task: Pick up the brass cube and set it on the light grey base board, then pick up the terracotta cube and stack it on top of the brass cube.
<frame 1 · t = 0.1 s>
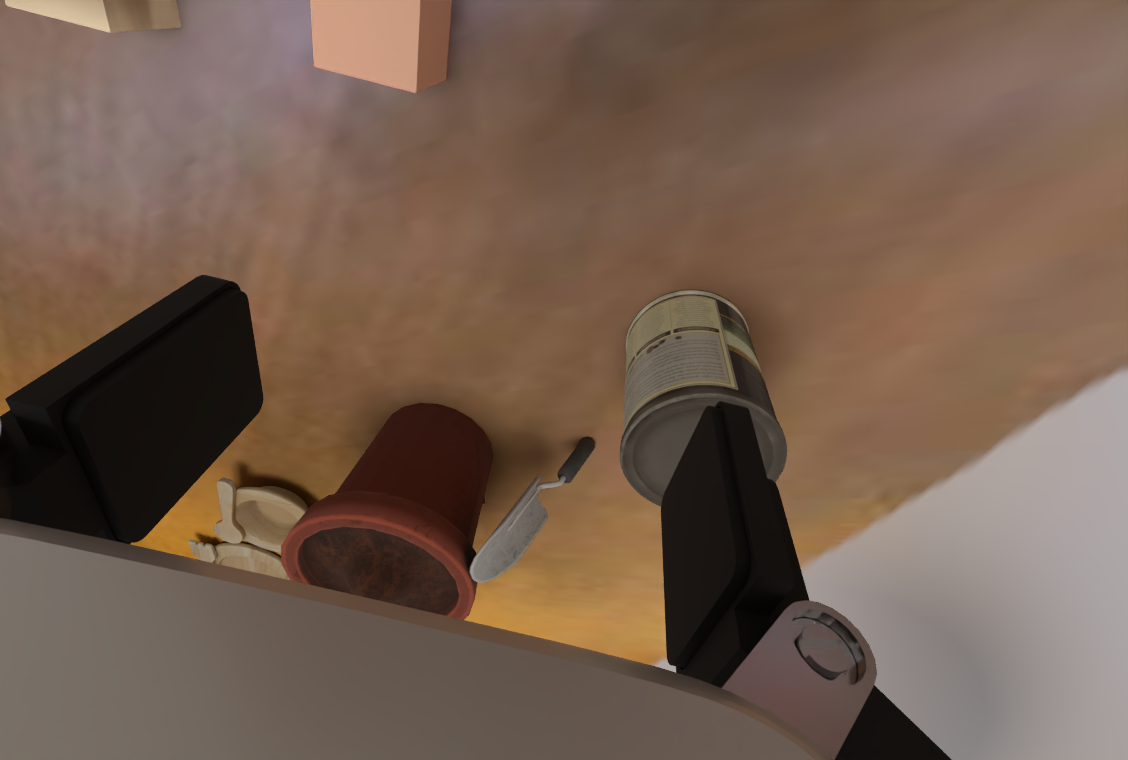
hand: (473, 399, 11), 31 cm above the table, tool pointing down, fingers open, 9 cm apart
coffee can: (686, 342, 46), on the table
terracotta cube: (404, 15, 34), on the table
potted plant: (466, 452, 56), on the table
tableware set: (334, 561, 72), on the table
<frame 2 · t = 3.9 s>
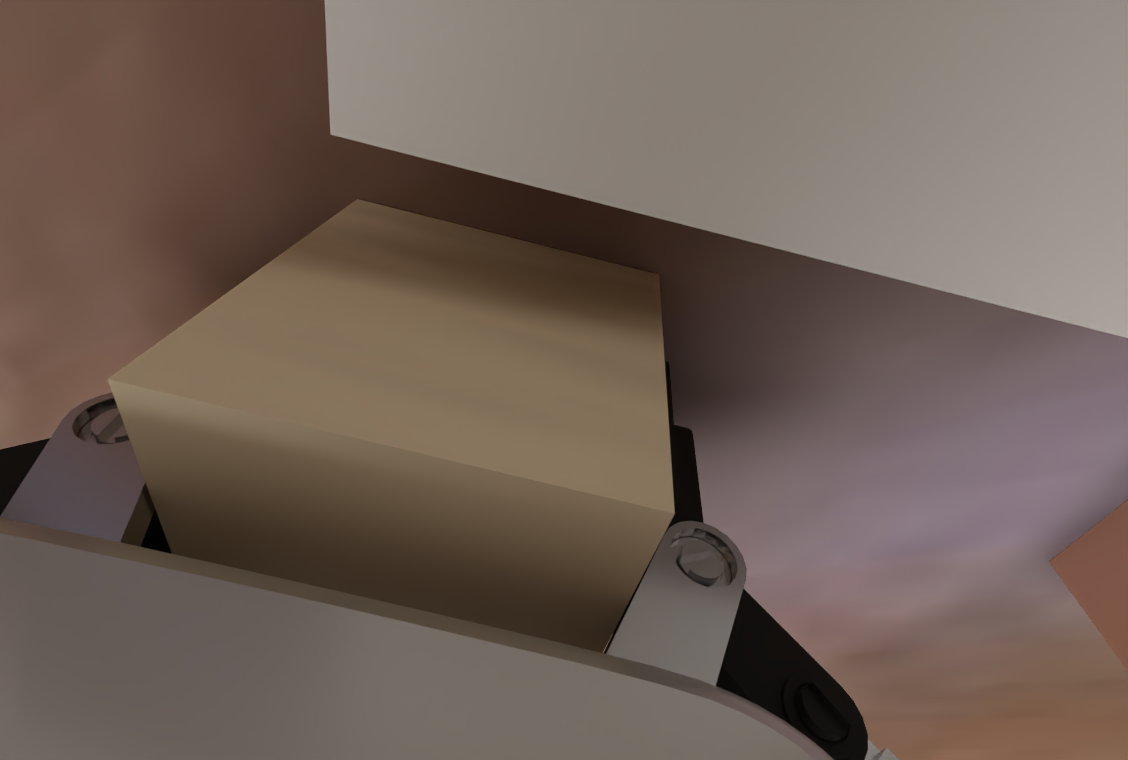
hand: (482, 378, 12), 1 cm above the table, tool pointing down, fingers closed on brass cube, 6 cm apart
brass cube: (489, 361, 12), on the table, touching gripper
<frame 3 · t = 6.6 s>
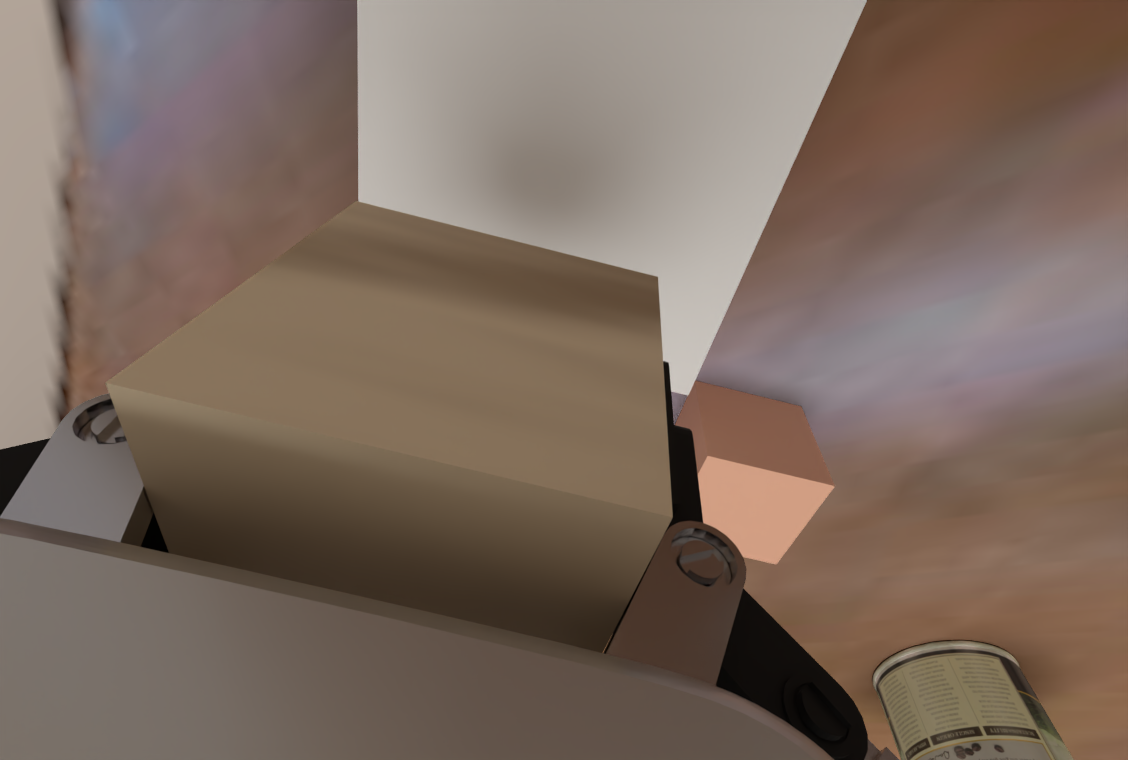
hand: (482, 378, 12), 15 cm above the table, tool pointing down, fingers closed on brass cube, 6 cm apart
coffee can: (941, 672, 42), on the table
terracotta cube: (726, 433, 31), on the table
brass cube: (488, 363, 12), point 14 cm above the table, touching gripper
grey base board: (569, 168, 23), on the table
when the fingers open (5 cm above the table, at t = 9.2 s): brass cube drops 1 cm, resting on grey base board.
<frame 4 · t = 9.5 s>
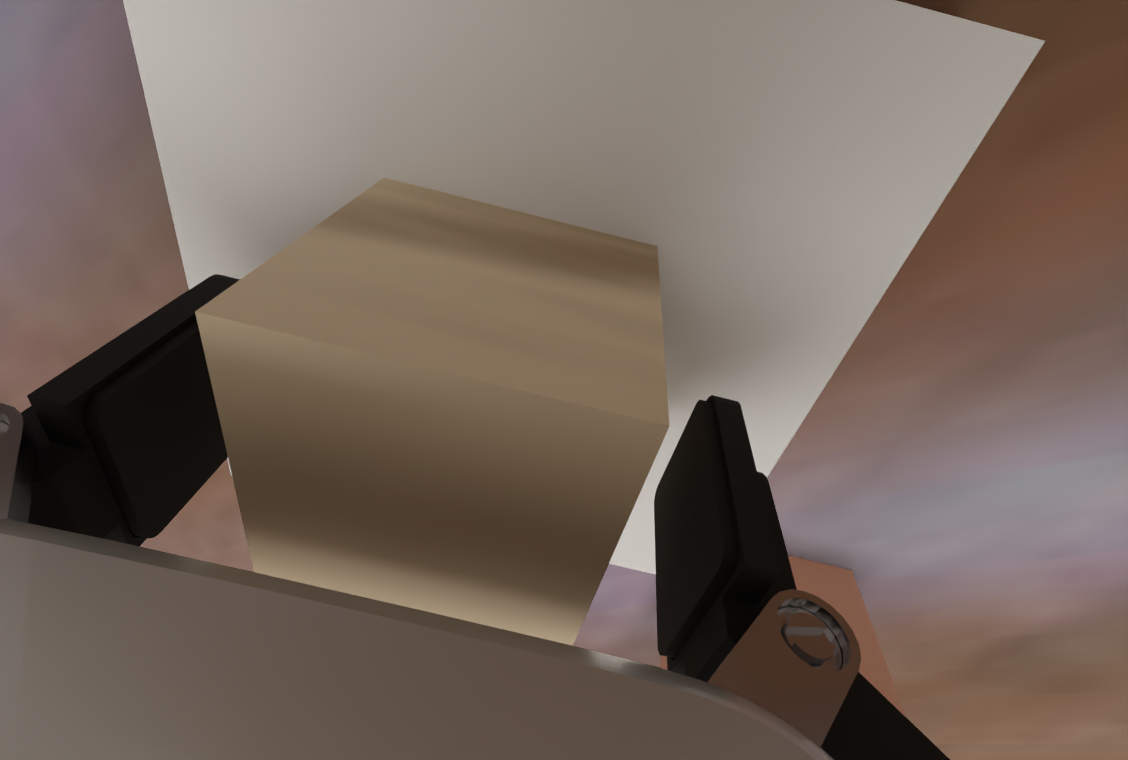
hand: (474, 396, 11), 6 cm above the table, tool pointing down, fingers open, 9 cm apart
terracotta cube: (748, 592, 23), on the table
brass cube: (502, 329, 13), point 3 cm above the table, touching grey base board
grey base board: (523, 279, 16), on the table
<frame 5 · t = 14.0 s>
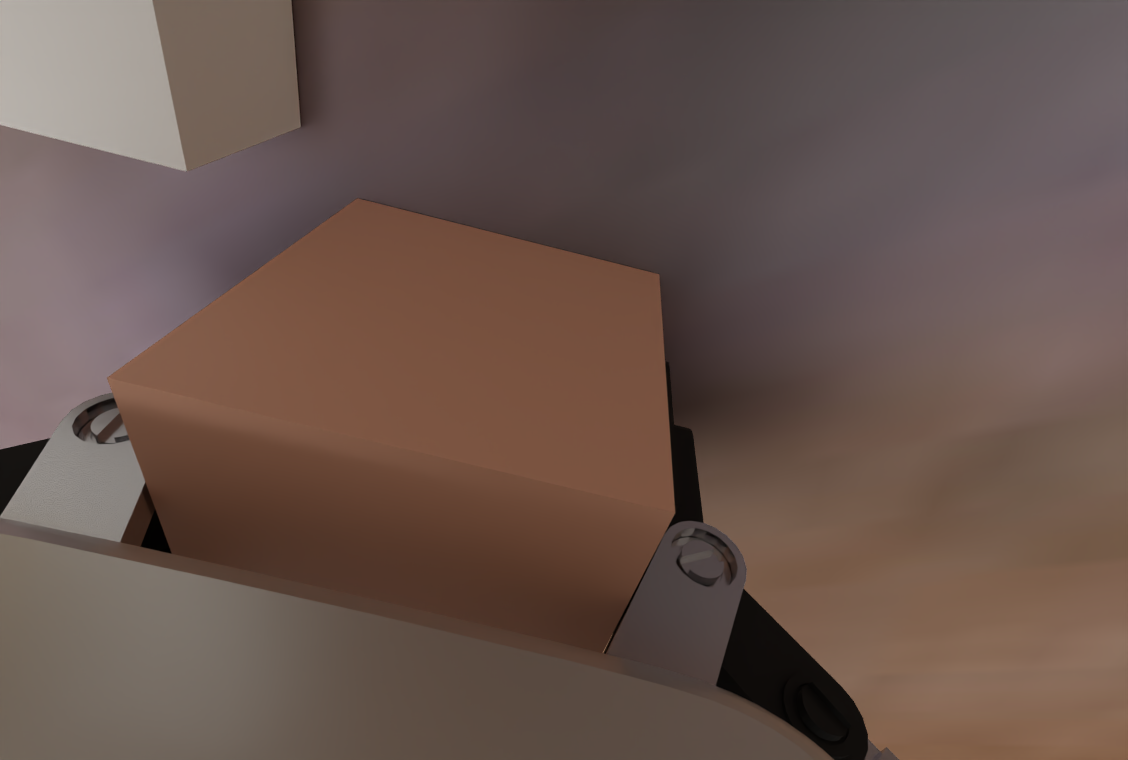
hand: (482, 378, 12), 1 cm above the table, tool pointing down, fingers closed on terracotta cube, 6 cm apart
terracotta cube: (489, 360, 12), on the table, touching gripper
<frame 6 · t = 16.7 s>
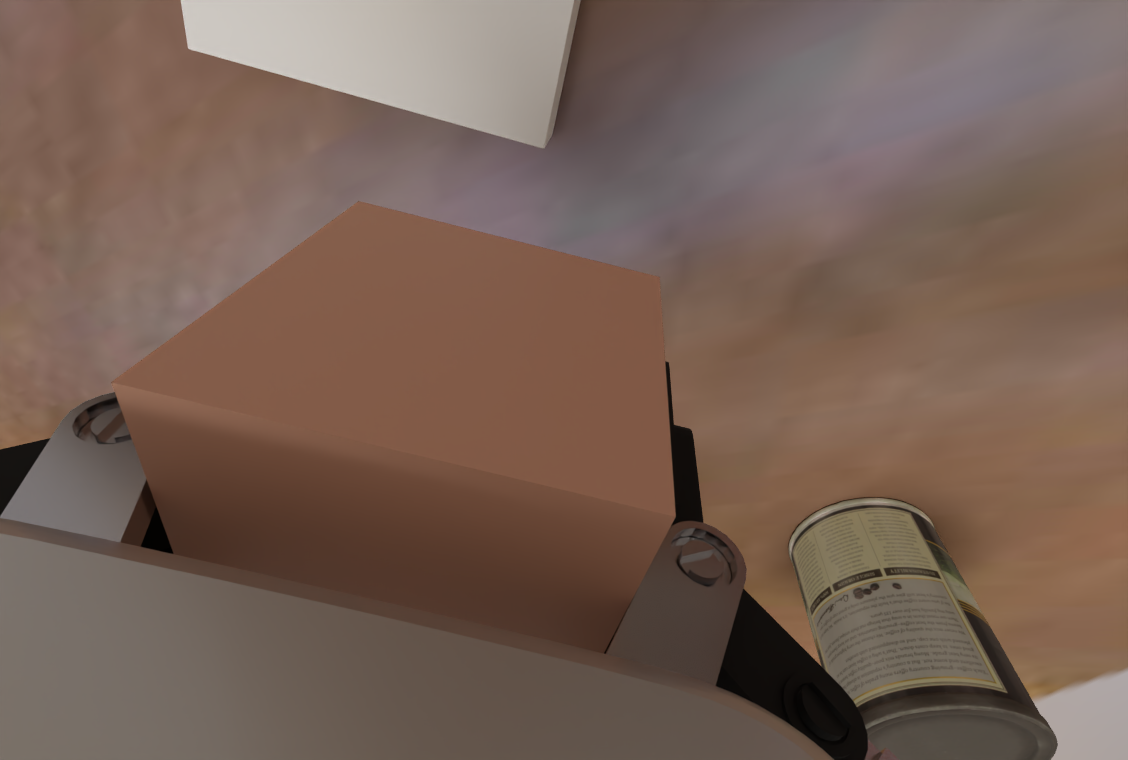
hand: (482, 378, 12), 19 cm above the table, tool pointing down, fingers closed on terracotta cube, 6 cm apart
coffee can: (858, 540, 41), on the table
terracotta cube: (490, 362, 12), point 19 cm above the table, touching gripper
when the fingers open (11 cm above the table, at t = 19.5 s): terracotta cube drops 1 cm, resting on brass cube.
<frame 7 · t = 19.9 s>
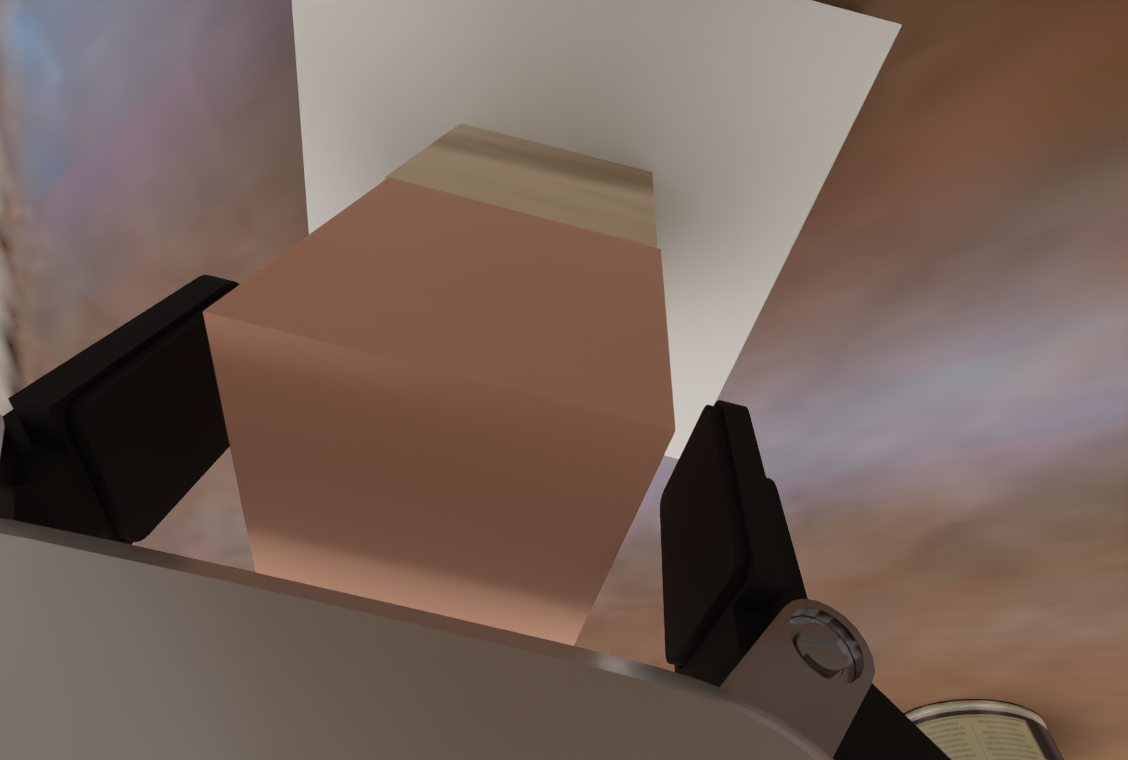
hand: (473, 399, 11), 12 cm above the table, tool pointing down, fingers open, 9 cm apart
coffee can: (961, 729, 40), on the table
terracotta cube: (504, 330, 13), point 9 cm above the table, touching brass cube
brass cube: (539, 240, 18), point 3 cm above the table, touching grey base board, terracotta cube
grey base board: (551, 212, 21), on the table
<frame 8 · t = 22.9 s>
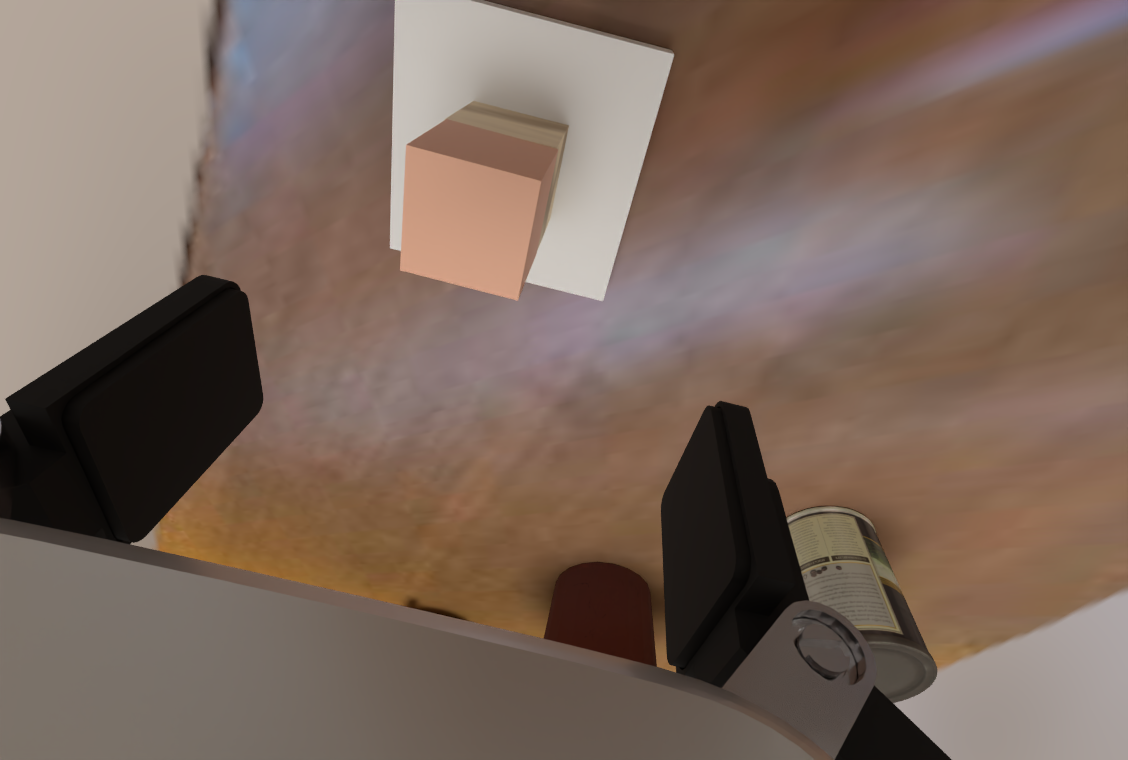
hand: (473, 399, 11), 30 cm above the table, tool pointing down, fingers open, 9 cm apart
coffee can: (820, 536, 56), on the table
terracotta cube: (494, 190, 30), point 9 cm above the table, touching brass cube
brass cube: (513, 163, 35), point 3 cm above the table, touching grey base board, terracotta cube
grey base board: (522, 152, 37), on the table
potted plant: (625, 596, 66), on the table
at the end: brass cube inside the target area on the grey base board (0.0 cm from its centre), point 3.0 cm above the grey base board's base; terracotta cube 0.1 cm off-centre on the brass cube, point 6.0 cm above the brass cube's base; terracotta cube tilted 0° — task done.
